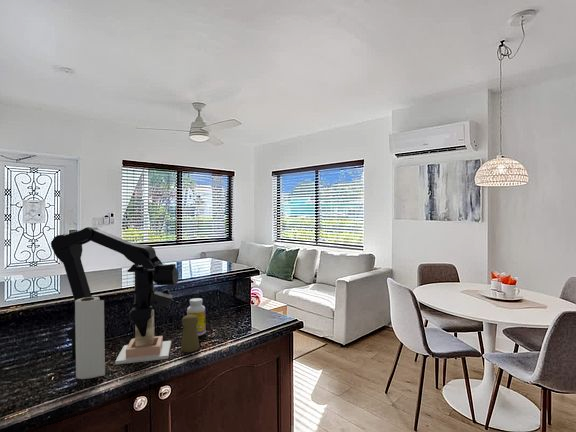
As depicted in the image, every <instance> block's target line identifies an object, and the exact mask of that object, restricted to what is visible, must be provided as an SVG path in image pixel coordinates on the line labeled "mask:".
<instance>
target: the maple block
mask: <svg viewBox="0 0 576 432" xmlns="http://www.w3.org/2000/svg"><path fill="white" fill-rule="evenodd" d="M134 328H135V329H134V333H135V335H134V338H135V347H137V346H147V345H153V342H154V337H155V310H154V309H153V316H152V318H150V319H149V320H148V325H147V330H146V336H144V337H142V336H141V334H140V332H139V330H138V328H137V327H136V325H135V324H134Z"/></svg>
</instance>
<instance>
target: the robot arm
mask: <svg viewBox="0 0 576 432" xmlns="http://www.w3.org/2000/svg"><path fill="white" fill-rule="evenodd" d="M90 242H92V243H95V244H98V245H100V246H102V247H104V248H107V249H109V250H112V251H114V252H117V253H119V254H120V255H123V256H124V257H125V259H127V260H128V261H129V262H132V263H133V264H132V265H131V266H130V267H129V268H128V269H127V273H134V290H133V295H134V303H133V308H132V309H130V311H129V313H128V320H130V321H132V322H133V323H134V326H135V325H136V327H137V328H138V330H139V332H140V334H141V336H142V337H144V336H146V330H147V325H148V320H149V319H150V318H152V316H153V309H154V311H155V310H157V305H158V306H162V307H164V308H170V305H171V302H172V299H173V295H172V294H171V293H170V290H169V289H166V288H165V289H164V290H162V291H157V289H156V287H155V285H157V286H176V285H177V284H178V281H179V272H178V268H177V264H176V263H169V264H163V262H162V261H161V259H159V257H158V256H157V254H156V253H157V252H156V250H155V248H154V247H152V246H151V245H146V244H141V243H135V242H131V241H128V240H125V239H123V238H121V237H119V236H116V235H114V234H112V233H109V232H106V231H105V230H102V229H100V228H99V227H96V226H90V227H85V228H82V229H80V230H77V231H74V232H70V233H65V234H58V235H56V236H54V237H53V239H52V241H51V242H50V247H51V249H52V251H53V253H54V255H55V256H56V258H57V259H58V260H59V261H60V262H61V263H62V264H63V267H64V270H65V272H66V273H65V274H66V276H67V279H68V282H69V287H70V290H71V293H72V298H73V300H74V301H75V300H77V299H81V298H87V297H93V295H92V293H91V290H90V286H89V283H88V279H87V276H86V272H85V270H84V267H83V266H84V265H83V263H82V255H83V254H82V253H83V245H85V244H87V243H90ZM154 284H155V285H154ZM73 316H74V317H73V319H74V320H75V314H74V315H73ZM104 316H106V312H104ZM66 335H67V338H68V340H71V355H70V357H69V359H76V335H75V325H74V326H72V328H70V330H69V331H67V333H66Z"/></svg>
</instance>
